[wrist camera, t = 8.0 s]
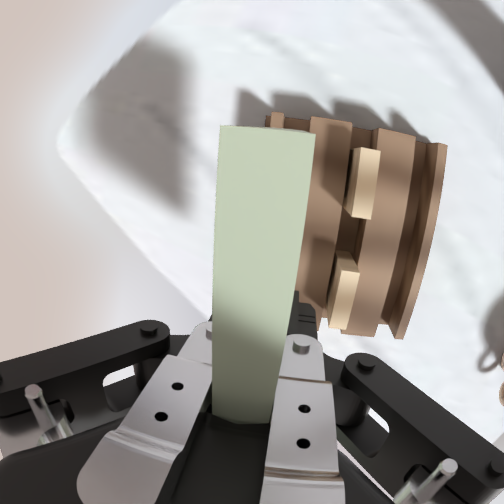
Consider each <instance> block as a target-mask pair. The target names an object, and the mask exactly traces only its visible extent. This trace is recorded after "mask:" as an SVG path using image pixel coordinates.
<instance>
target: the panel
mask: <svg viewBox="0 0 504 504" xmlns="http://www.w3.org/2000/svg"><path fill="white" fill-rule="evenodd" d="M315 137H316V134H313V133H310V132H307V131H302V130H293V129H284V128H271V127H253V126H221V125H220V135H219V151H218V167H217V185H216V205H215V229H214V257H213V296H212V414H213V415H215V416H218V417H220V418H223V419H225V420H227V421H230V422H232V423H235V424H266V423H269V420H270V415H271V410H272V406H273V401H274V396H275V392H276V387H277V382H278V377H279V372H280V367H281V362H282V357H283V351H284V346H285V341H286V335H287V330H288V324H289V319H290V313H291V307H292V302H293V296H294V290H295V284H296V278H297V271H298V265H299V259H300V252H301V246H302V239H303V232H304V225H305V218H306V211H307V203H308V196H309V188H310V180H311V172H312V163H313V155H314V146H315Z"/></svg>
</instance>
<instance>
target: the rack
mask: <svg viewBox="0 0 504 504" xmlns="http://www.w3.org/2000/svg"><path fill="white" fill-rule="evenodd" d="M265 127H271V128H284V129H293V130H302V131H307V132H310V133H313V134H316V137H315V146H314V155H313V163H312V172H311V180H310V188H309V196H308V203H307V211H306V218H305V225H304V232H303V239H302V246H301V252H300V259H299V265H298V271H297V278H296V284H295V290H297V291H299V302H301V303H309V304H311V305H312V307H313V308H314V309H315V311H316V324H317V331H318V330H319V326H320V321H321V317H323V318H327V311H326V304H325V299H326V294H327V289H328V284H329V279H330V274H331V269H332V264H333V258H334V253H335V250H341V251H348V252H350V253H351V255H352V257H353V259H354V261H355V263H356V265H357V267H358V270H359V272H360V276H359V280H358V284H357V289H356V293H355V297H354V301H353V305H352V309H351V313H350V317H349V321H348V324H347V328H346V330H343V329H340V330H341V334H348V335H358V336H368V337H374V336H375V333H376V329H377V326H378V324H386V325H389V327H390V330H391V332H392V334H393V336H394V338H395V339H403V338H404V335H405V332H406V329H407V327H408V324H409V321H410V318H411V315H412V312H413V309H414V306H415V302H416V299H417V296H418V293H419V289H420V286H421V282H422V279H423V275H424V271H425V268H426V264H427V260H428V256H429V252H430V248H431V243H432V239H433V234H434V230H435V225H436V220H437V215H438V210H439V204H440V198H441V192H442V186H443V179H444V171H445V164H446V155H447V145H445V144H442V143H427V144H426V143H423V142H419V141H416V136H412V135H408V134H404V133H400V132H396V131H391V130H387V129H382V128H377V129H374V130H372V131H371V130H366V129H360V128H355V127H352V122H346V121H340V120H334V119H328V118H321V117H314V116H311V119H310V120H303V119H295V118H286V117H285V116H284V113H280V112H272V113H271V116H266V121H265ZM360 147H363V148H368V149H373V150H378V151H381V153H380V161H379V169H378V177H377V184H376V191H375V197H374V203H373V209H372V215H371V220H369V219H363V218H357V217H351V215H350V214H349V213H348V212H347V211H346V210H345V209H344V207H343V206H342V205H343V198H344V191H345V184H346V176H347V168H348V160H349V152H350V149H354V148H360Z"/></svg>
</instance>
